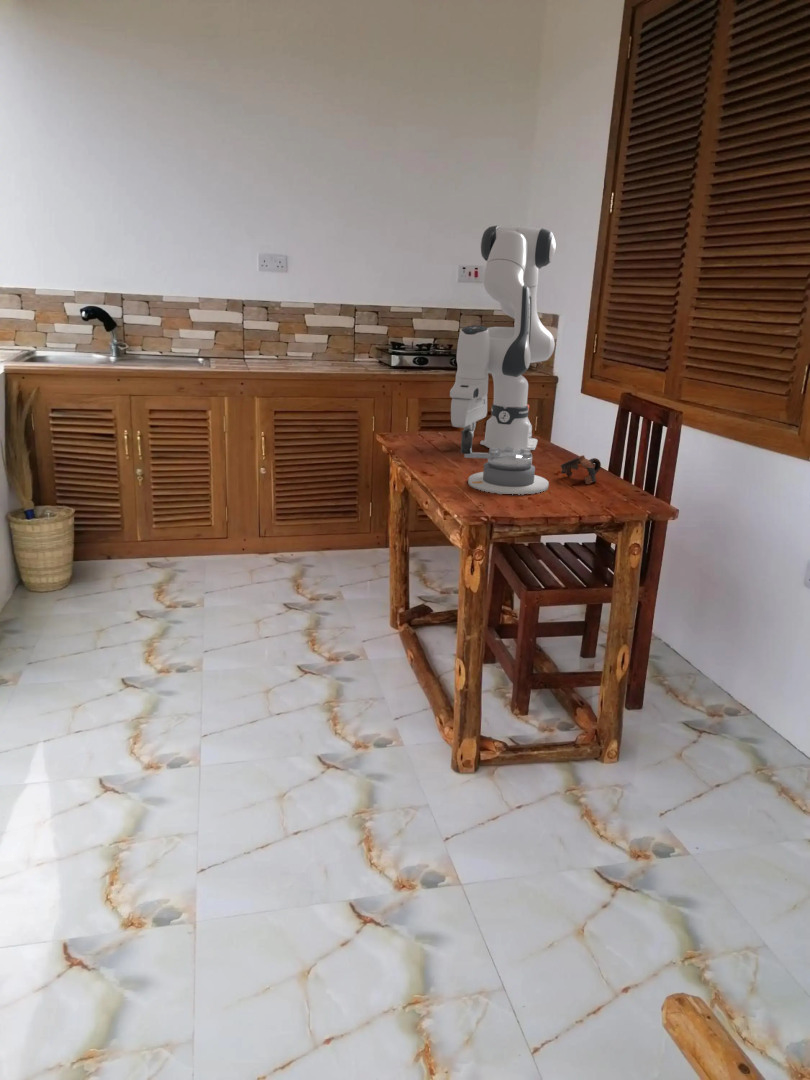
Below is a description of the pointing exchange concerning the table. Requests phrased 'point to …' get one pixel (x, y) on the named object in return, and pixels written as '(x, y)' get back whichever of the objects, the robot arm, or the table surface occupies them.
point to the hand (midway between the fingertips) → (468, 438)
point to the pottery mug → (585, 463)
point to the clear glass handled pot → (498, 455)
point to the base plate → (508, 490)
